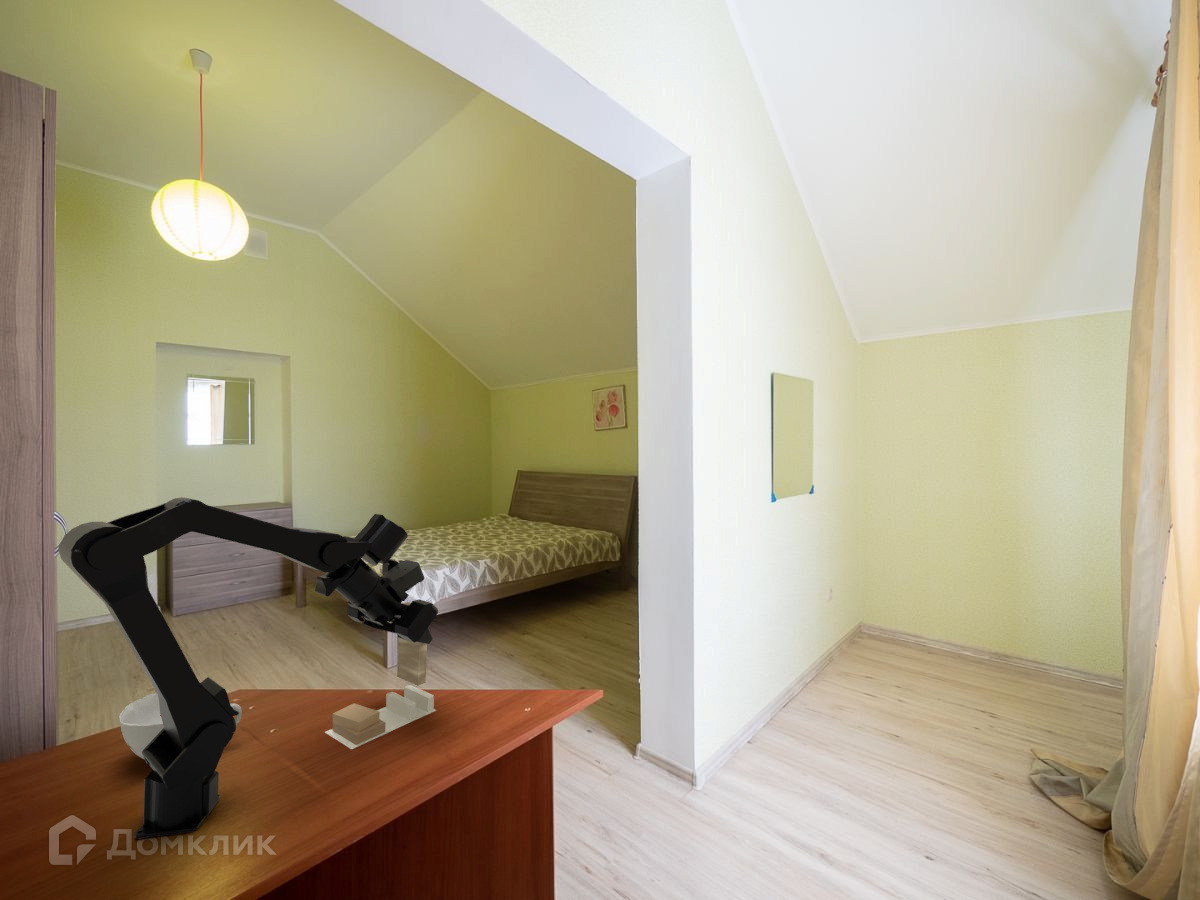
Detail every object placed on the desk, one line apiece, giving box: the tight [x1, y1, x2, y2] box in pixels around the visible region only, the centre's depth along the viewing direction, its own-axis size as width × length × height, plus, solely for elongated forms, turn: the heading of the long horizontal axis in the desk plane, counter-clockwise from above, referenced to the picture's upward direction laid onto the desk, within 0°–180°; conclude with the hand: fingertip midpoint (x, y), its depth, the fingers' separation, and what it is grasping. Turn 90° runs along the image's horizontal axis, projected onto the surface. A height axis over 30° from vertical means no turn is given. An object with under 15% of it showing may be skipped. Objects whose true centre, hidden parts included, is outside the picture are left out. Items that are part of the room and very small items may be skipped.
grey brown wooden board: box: [396, 601, 428, 686], centre depth 93 cm, size 2×6×13 cm, turn 55°
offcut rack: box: [324, 684, 437, 750], centre depth 89 cm, size 16×8×4 cm, turn 145°
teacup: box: [118, 692, 243, 760], centre depth 80 cm, size 15×12×8 cm
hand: (419, 637), depth 94 cm, fingers closed on grey brown wooden board, 6 cm apart
